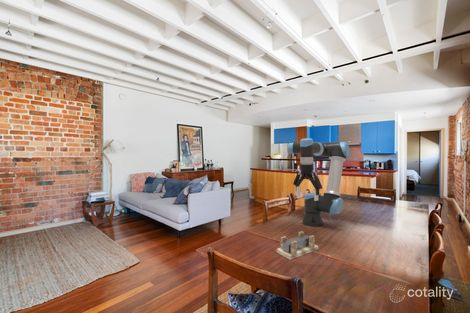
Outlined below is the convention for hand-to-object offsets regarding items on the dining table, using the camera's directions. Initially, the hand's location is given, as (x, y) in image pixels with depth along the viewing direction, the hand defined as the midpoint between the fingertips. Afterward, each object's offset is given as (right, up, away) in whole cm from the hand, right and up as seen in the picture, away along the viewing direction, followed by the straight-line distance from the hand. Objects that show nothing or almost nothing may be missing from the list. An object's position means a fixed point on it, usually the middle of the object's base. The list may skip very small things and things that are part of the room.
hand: (307, 198), depth 138 cm
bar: (-10, -25, -14) cm, 30 cm away
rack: (-9, -27, -14) cm, 31 cm away
